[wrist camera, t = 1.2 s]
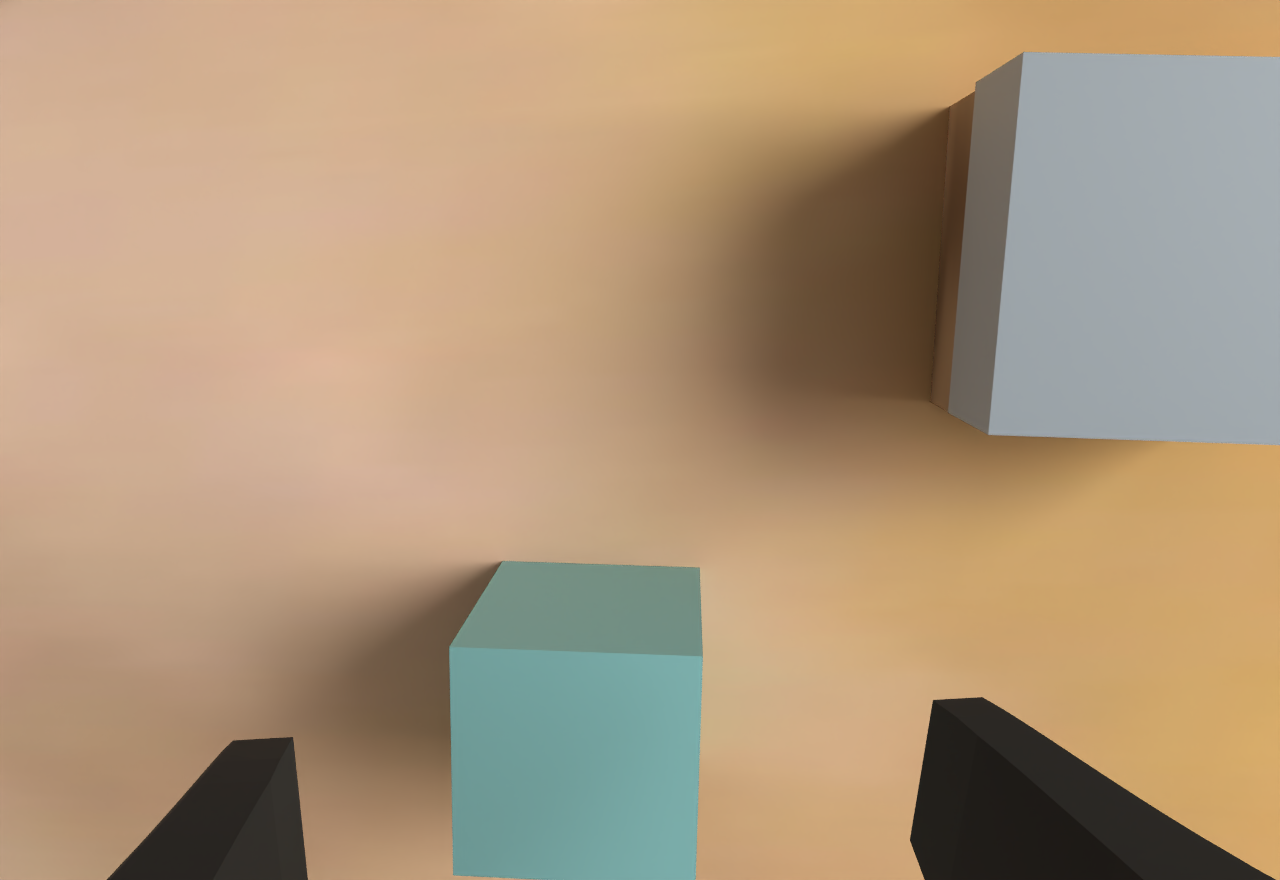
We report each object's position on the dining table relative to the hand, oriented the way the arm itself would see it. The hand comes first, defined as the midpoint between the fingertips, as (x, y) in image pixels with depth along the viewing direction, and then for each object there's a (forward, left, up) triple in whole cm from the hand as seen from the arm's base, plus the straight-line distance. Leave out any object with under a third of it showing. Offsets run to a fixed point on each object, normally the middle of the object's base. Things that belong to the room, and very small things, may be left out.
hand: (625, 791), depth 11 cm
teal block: (-3, +1, -11) cm, 11 cm away
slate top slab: (+6, -9, -9) cm, 14 cm away
